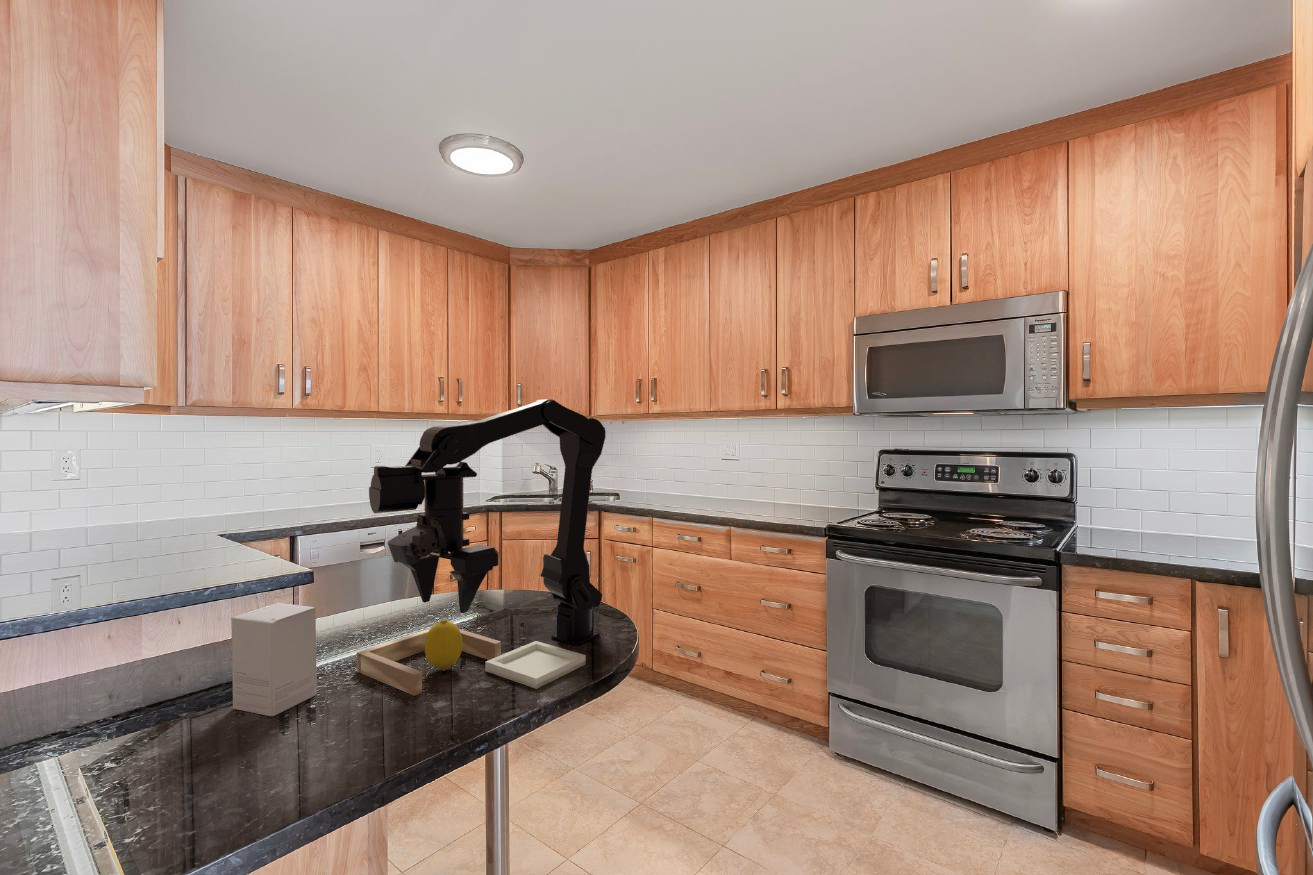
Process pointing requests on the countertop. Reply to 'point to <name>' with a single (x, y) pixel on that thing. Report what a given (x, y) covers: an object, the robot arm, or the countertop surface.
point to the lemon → (443, 644)
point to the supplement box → (274, 658)
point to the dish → (535, 664)
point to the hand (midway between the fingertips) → (444, 607)
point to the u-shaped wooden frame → (407, 679)
